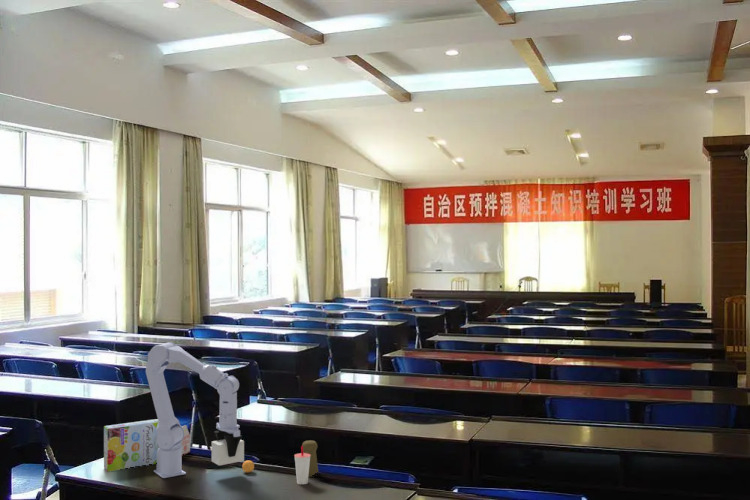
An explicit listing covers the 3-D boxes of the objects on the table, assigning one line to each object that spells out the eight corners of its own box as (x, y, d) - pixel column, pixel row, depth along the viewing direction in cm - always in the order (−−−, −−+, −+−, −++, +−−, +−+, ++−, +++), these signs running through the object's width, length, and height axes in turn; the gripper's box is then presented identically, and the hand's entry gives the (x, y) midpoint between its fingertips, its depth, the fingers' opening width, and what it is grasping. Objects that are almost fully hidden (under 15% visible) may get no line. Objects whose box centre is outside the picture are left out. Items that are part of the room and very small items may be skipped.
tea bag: (171, 455, 254) (171, 428, 255) (181, 451, 261) (181, 424, 261) (179, 456, 253) (180, 429, 254) (190, 451, 260) (190, 425, 260)
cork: (315, 476, 229) (315, 443, 229) (298, 475, 230) (298, 442, 230) (320, 471, 235) (320, 439, 235) (303, 470, 236) (303, 438, 236)
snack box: (164, 458, 251) (164, 417, 251) (168, 462, 246) (169, 420, 246) (103, 468, 239) (103, 425, 239) (107, 472, 234) (107, 428, 234)
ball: (250, 457, 237) (252, 468, 237) (239, 461, 234) (241, 472, 235) (254, 460, 233) (257, 471, 234) (243, 464, 231) (246, 475, 232)
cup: (295, 486, 219) (295, 448, 220) (292, 481, 225) (293, 444, 225) (312, 484, 221) (312, 447, 221) (309, 479, 226) (309, 443, 226)
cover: (211, 461, 230) (211, 441, 230) (236, 456, 235) (236, 437, 235) (218, 465, 225) (218, 445, 225) (244, 460, 230) (244, 441, 230)
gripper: (248, 415, 227) (248, 457, 226) (229, 408, 238) (229, 447, 238) (228, 418, 223) (228, 460, 222) (210, 410, 234) (210, 450, 234)
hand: (227, 454), depth 230 cm, fingers closed on cover, 6 cm apart
